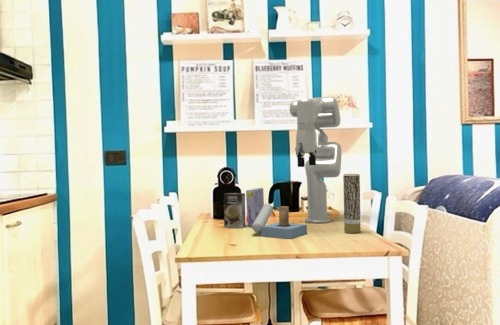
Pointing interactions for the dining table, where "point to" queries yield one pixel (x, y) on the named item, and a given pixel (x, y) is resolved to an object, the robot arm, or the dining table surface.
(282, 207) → the peg
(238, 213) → the coffee box
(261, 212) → the tube
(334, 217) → the dining table surface
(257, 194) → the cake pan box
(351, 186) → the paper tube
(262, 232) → the socket
